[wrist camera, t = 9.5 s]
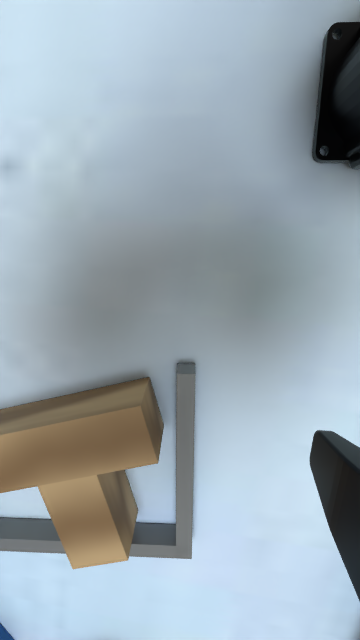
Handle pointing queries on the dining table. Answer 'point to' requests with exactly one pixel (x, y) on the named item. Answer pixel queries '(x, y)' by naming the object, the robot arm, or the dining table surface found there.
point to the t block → (84, 463)
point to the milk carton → (4, 634)
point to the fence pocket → (146, 535)
